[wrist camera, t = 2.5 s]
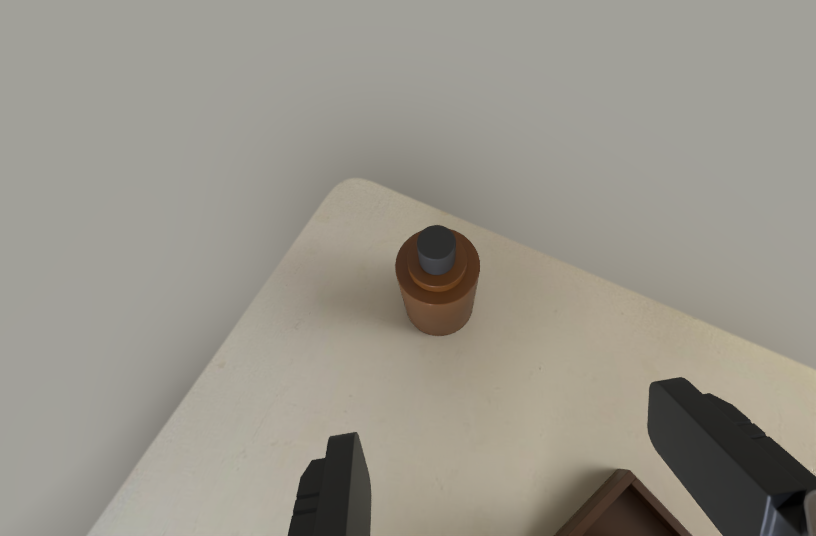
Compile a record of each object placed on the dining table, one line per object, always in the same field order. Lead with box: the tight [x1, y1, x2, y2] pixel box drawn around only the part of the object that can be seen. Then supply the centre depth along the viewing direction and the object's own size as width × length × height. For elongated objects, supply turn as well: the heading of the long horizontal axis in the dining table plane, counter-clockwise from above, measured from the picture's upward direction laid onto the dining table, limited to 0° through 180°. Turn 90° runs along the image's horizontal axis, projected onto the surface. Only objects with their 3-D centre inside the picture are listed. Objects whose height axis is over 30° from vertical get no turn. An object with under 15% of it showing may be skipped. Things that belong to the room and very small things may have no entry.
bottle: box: [395, 225, 480, 336], centre depth 31 cm, size 6×6×12 cm
